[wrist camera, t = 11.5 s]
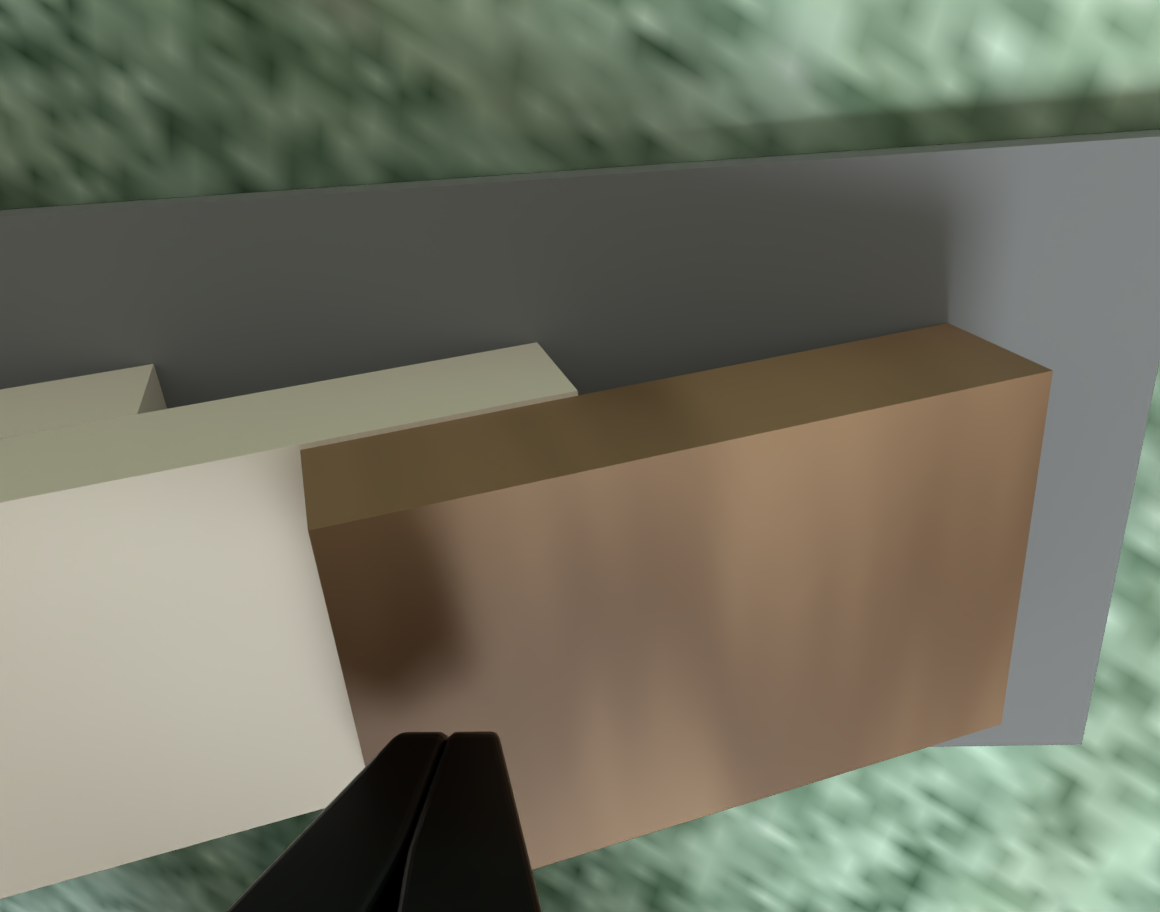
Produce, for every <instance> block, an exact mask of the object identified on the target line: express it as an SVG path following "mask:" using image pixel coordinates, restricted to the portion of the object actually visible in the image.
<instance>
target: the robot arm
mask: <svg viewBox="0 0 1160 912" xmlns="http://www.w3.org/2000/svg"><path fill="white" fill-rule="evenodd" d="M225 912H542V909H541V905H540V901H539V896H538V892H537V888H536V884H535V880H534V876H533V872H532V868H531V864H530V860H529V855H528V851H527V847H526V843H525V839H524V835H523V831H522V827H521V823H520V819H519V814H518V810H517V806H516V802H515V798H514V794H513V790H512V786H511V782H510V778H509V773H508V769H507V765H506V761H505V757H504V753H503V749H502V745H501V741H500V738H499V736H498V735H497V733H495V732H491V731H474V732H454V733H453V734H451V735H450V736H449V737H448V736H447V735H446V734H444V733H442V732H404V733H400V734H399V735H397V736H395V737H394V738H393V739H392V740H391V741H390V742H389V743H388V744H387V745H386V746H385V747H384V748H383V749H382V750H381V751H380V752H379V753H378V754H377V755H376V756H375V757H374V758H373V759H372V760H371V761H370V762H369V763H368V765H367V766H366V767H365V768H364V769H363V770H362V771H361V772H360V773H359V774H358V775H357V776H356V777H355V778H354V779H353V780H352V781H351V782H350V783H349V784H348V785H347V786H346V787H345V788H344V789H343V790H342V791H341V792H340V793H339V795H338V796H337V797H336V798H335V799H334V800H333V801H332V802H331V803H330V804H329V805H328V806H327V807H326V808H325V809H324V810H323V811H322V812H321V813H320V814H319V815H318V816H317V817H316V818H315V819H314V820H313V821H312V822H311V823H310V825H309V826H308V827H307V828H306V829H305V830H304V831H303V832H302V833H301V834H300V835H299V836H298V837H297V838H296V839H295V840H294V841H293V842H292V843H291V844H290V845H289V846H288V847H287V848H286V849H285V850H284V851H283V852H282V853H281V855H280V856H279V857H278V858H277V859H276V860H275V861H274V862H273V863H272V864H271V865H270V866H269V867H268V868H267V869H266V870H265V871H264V872H263V873H262V874H261V875H260V876H259V877H258V878H257V879H256V880H255V881H254V882H253V883H252V884H251V886H250V887H249V888H248V889H247V890H246V891H245V892H244V893H243V894H242V895H241V896H240V897H239V898H238V899H237V900H236V901H235V902H234V903H233V904H232V905H231V906H230V907H229V908H228V909H227V910H226V911H225Z"/></svg>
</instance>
